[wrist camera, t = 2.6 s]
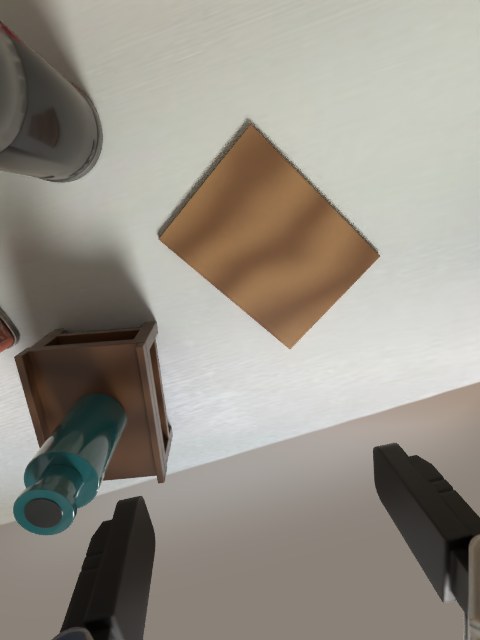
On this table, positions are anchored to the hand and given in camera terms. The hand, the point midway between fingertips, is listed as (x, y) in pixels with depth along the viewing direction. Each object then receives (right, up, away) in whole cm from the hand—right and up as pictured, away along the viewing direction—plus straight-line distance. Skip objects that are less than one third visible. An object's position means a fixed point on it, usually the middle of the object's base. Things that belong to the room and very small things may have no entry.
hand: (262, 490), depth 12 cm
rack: (-16, -2, +31) cm, 35 cm away
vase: (-16, -4, +24) cm, 29 cm away
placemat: (+3, +14, +27) cm, 31 cm away
